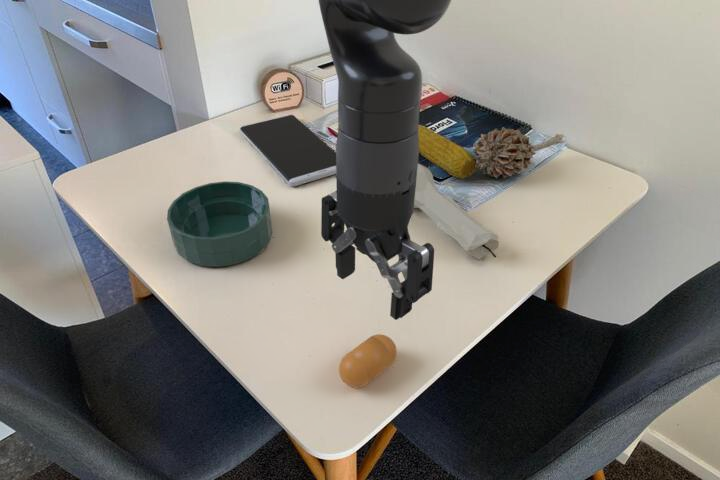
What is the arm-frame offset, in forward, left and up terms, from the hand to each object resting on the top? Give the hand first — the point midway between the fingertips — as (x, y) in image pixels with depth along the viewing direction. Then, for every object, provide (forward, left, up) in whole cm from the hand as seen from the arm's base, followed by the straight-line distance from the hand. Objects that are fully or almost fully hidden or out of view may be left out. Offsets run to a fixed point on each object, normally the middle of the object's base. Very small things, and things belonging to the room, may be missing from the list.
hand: (371, 294), depth 59 cm
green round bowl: (-17, +32, -14) cm, 39 cm away
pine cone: (+41, +42, -14) cm, 60 cm away
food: (+26, +49, -14) cm, 57 cm away
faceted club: (+19, +26, -14) cm, 35 cm away
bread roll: (0, 0, -14) cm, 14 cm away
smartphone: (-2, +59, -14) cm, 60 cm away
